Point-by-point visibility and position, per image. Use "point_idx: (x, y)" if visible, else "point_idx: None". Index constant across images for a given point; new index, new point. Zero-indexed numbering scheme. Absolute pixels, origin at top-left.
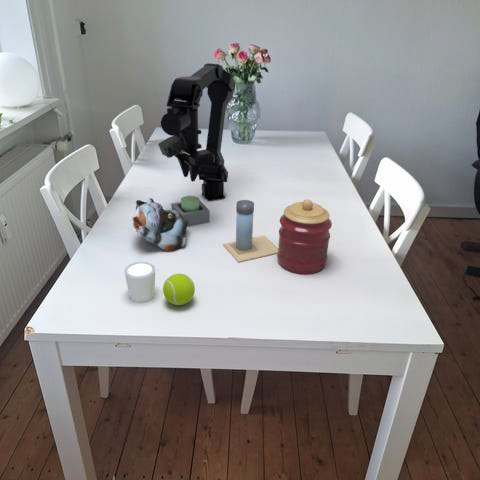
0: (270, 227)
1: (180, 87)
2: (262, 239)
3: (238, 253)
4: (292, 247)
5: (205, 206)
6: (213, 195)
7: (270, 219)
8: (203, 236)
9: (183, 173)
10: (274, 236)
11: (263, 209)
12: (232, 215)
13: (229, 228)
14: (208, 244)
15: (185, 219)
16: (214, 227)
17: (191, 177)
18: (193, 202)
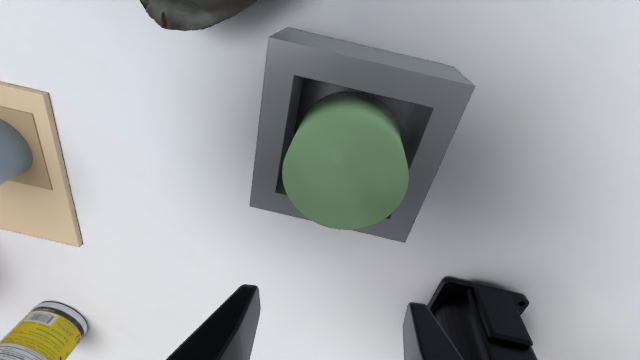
0: (138, 290)
1: None
2: (51, 226)
3: None
4: None
5: (302, 216)
6: (445, 313)
7: (189, 320)
8: (152, 69)
9: (428, 337)
10: (76, 263)
11: (263, 346)
12: (276, 265)
13: (181, 197)
14: (69, 42)
15: (154, 7)
16: (214, 159)
17: (203, 323)
18: (285, 168)
